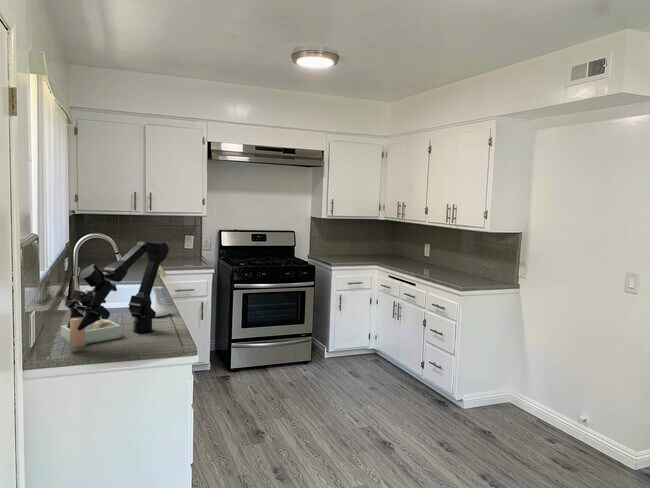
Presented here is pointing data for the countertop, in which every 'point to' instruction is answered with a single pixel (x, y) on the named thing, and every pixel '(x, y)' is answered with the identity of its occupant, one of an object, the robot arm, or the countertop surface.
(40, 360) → the countertop surface
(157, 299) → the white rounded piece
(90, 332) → the tote
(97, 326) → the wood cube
